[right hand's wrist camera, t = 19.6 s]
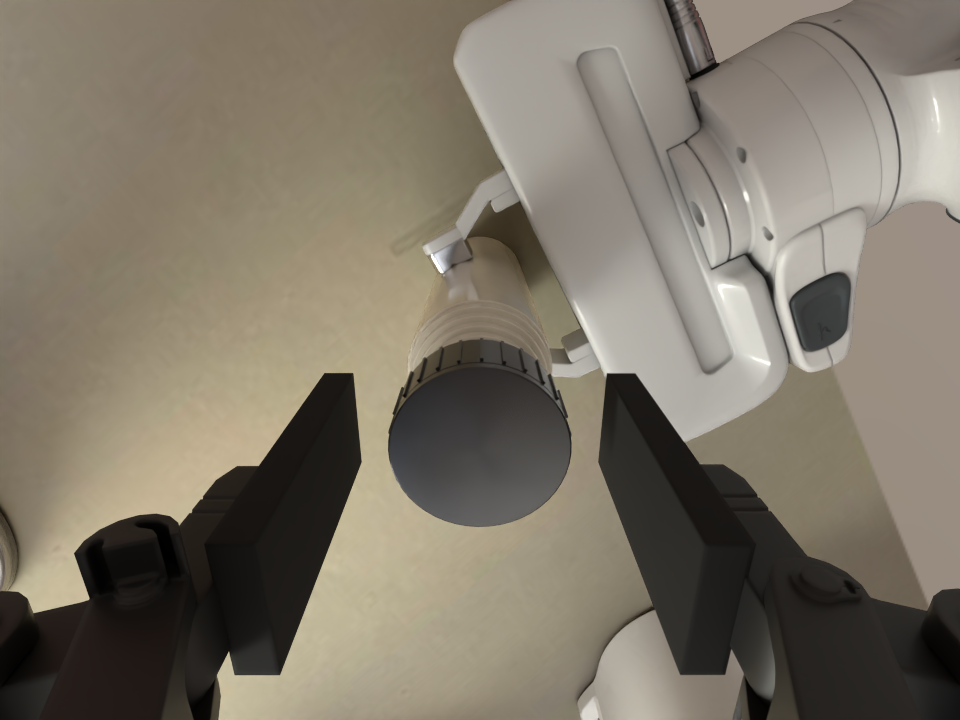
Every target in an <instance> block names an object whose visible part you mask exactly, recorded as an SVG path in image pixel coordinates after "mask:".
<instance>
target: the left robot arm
mask: <svg viewBox="0 0 960 720" xmlns="http://www.w3.org/2000/svg"><path fill="white" fill-rule="evenodd" d="M692 2H693V0H511V1H509V2H507V3H505V4H503V5H501V6H499V7H497V8H495V9H493V10H491V11H489V12H488V13H486V14H484V15H482V16H480V17H479V18H477V19H475V20H474V21H472V22H471V23H469V24H468V25H467V26H466V27H465V28H464V29H463V31H462V32H461V35H460V37H459V40H458V43H457V46H456V49H455V53H454V57H453V63H454V68H455V70H456V72H457V75H458V77H459V79H460V81H461V83H462V85H463V87H464V89H465V91H466V93H467V95H468V97H469V99H470V101H471V103H472V105H473V107H474V110H475V112H476V114H477V116H478V118H479V120H480V122H481V124H482V126H483V128H484V130H485V132H486V134H487V136H488V138H489V140H490V142H491V144H492V146H493V149H494V151H495V153H496V155H497V157H498V159H499V161H500V163H501V165H502V167H503V168H502V169H500V170H499V171H497V172H495V173H493V174H492V175H490V176H488V177H486V178H485V179H483V180H481V181H480V182H479V183H478V185H477V187H476V188H475V190H474V192H473V193H472V195H471V197H470V198H469V200H468V202H467V204H466V205H465V207H464V209H463V210H462V212H461V214H460V215H459V217H458V219H457V221H456V224H454V225H452V226H450V227H448V228H447V229H445V230H443V231H441V232H439V233H438V234H436V235H434V236H432V237H431V238H429V239H428V240H426V241H425V242H423V244H422V248H423V250H424V252H425V254H426V255H427V257H428V258H429V260H430V262H431V263H432V265H433V267H434V269H435V270H436V272H437V274H442V273H444V272H446V271H447V270H449V269H450V268H451V267H452V264H460V263H463V262H465V261H467V260H468V259H470V258H472V253H473V250H472V248H471V246H470V244H469V242H468V240H467V238H466V237H467V236H468V234H469V232H470V231H471V229H472V227H473V226H474V224H475V223H476V221H477V219H478V218H479V216H480V214H481V213H482V211H483V209H484V208H485V206H486V205H487V203H488V201H490V203H491V206H492V207H493V209H494V211H495V212H500V211H502V210H504V209H506V208H508V207H509V206H511V205H513V204H515V203H517V202H520V204H521V206H522V208H523V210H524V212H525V214H526V216H527V218H528V220H529V222H530V224H531V227H532V229H533V231H534V233H535V235H536V237H537V239H538V241H539V243H540V245H541V247H542V249H543V251H544V253H545V255H546V257H547V259H548V261H549V263H550V266H551V268H552V270H553V272H554V274H555V276H556V278H557V280H558V282H559V284H560V286H561V288H562V290H563V292H564V294H565V296H566V298H567V300H568V302H569V305H570V307H571V309H572V311H573V313H574V315H575V317H576V319H577V321H578V323H579V325H580V327H581V328H580V329H578V330H576V331H574V332H572V333H570V334H568V335H566V336H564V337H562V339H561V341H562V344H563V346H564V348H565V349H550V352H551V357H552V376H558V377H575V378H578V377H580V376H583V375H585V374H587V373H589V372H591V371H593V370H595V369H598V368H601V370H602V372H603V374H604V376H605V378H606V376H607V373H636V375H637V376H638V378H639V379H640V380H641V382H642V383H643V385H644V386H645V387H646V389H647V390H648V392H649V393H650V395H651V396H652V397H653V399H654V400H655V402H656V403H657V404H658V406H659V407H660V409H661V410H662V411H663V413H664V414H665V416H666V417H667V419H668V420H669V421H670V423H671V424H672V426H673V427H674V428H675V430H676V431H677V433H678V434H679V436H680V437H681V438H682V440H683V441H684V442H687V441H689V440H691V439H694V438H696V437H698V436H701V435H703V434H705V433H707V432H709V431H711V430H713V429H715V428H717V427H719V426H721V425H723V424H725V423H727V422H729V421H731V420H733V419H735V418H737V417H739V416H741V415H743V414H744V413H746V412H748V411H750V410H752V409H753V408H755V407H757V406H758V405H760V404H761V403H763V402H764V401H766V400H767V399H768V398H770V397H771V396H772V395H773V394H774V393H775V392H776V391H777V390H778V388H779V387H780V386H781V384H782V383H783V381H784V379H785V377H786V374H787V371H788V364H789V363H790V364H792V365H794V366H796V367H798V368H800V369H802V370H804V371H806V372H817V371H820V370H823V369H826V368H828V367H831V366H833V365H835V364H837V363H839V362H840V361H841V360H843V359H844V358H845V357H846V355H847V354H848V352H849V349H850V346H851V340H852V330H853V316H854V304H855V295H856V286H857V278H858V271H859V266H860V260H861V255H862V250H863V246H864V241H865V237H866V230H867V229H868V228H870V227H872V226H874V225H876V224H877V223H879V222H880V221H882V220H883V219H884V218H885V217H887V216H888V215H890V214H891V213H893V212H894V211H896V210H898V209H899V208H901V207H903V206H905V205H908V204H912V203H916V202H925V201H926V202H937V203H940V204H942V205H944V206H945V207H946V213H947V215H948V216H949V217H950V218H952V219H953V220H955V221H956V222H958V223H960V0H853V1H852V2H850V3H848V4H847V5H845V6H843V7H841V8H838V9H836V10H833V11H830V12H826V13H821V14H817V15H813V16H810V17H806V18H803V19H800V20H798V21H796V22H793V23H792V24H790V25H788V26H786V27H784V28H783V29H781V30H779V31H777V32H775V33H774V34H772V35H770V36H768V37H766V38H765V39H763V40H761V41H759V42H757V43H756V44H754V45H752V46H750V47H748V48H747V49H745V50H743V51H741V52H739V53H738V54H736V55H734V56H732V57H730V58H729V59H726V60H725V61H723V62H721V63H716V60H715V58H714V54H713V51H712V48H711V46H710V43H709V39H708V37H707V33H706V31H705V27H704V25H703V22H702V20H701V18H700V17H699V13H698V11H696V10H695V9H696V7H695V5H694V4H693V3H692ZM690 76H691V78H690ZM688 78H689V79H690V81H688V82H685V80H687V79H688ZM743 675H744V673H743V671H742V669H741V667H740V665H739V663H738V661H737V659H736V657H735V655H734V653H733V651H732V649H731V653H730V657H729V661H728V666H727V670H726V674H725V675H680V674H679V671H678V668H677V666H676V663H675V661H674V658H673V655H672V653H671V650H670V648H669V645H668V642H667V640H666V637H665V635H664V632H663V629H662V627H661V624H660V622H659V619H658V616H657V614H656V611H655V610H653V611H650V612H648V613H646V614H644V615H642V616H640V617H639V618H637V619H635V620H634V621H632V622H631V623H629V624H628V625H627V626H625V627H624V628H623V629H622V630H621V631H620V632H618V633H617V634H616V636H615V637H614V638H613V639H612V640H611V641H610V643H609V644H608V645H607V647H606V648H605V650H604V652H603V654H602V656H601V659H600V662H599V665H598V669H597V673H596V677H595V679H594V681H593V683H592V684H591V685H590V686H589V687H588V688H587V689H586V690H585V691H584V693H583V694H582V695H581V697H580V698H579V700H578V703H577V706H578V710H579V713H580V717H581V719H582V720H733V714H734V710H735V706H736V702H737V698H738V694H739V690H740V686H741V682H742V679H743Z"/></svg>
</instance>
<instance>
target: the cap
mask: <svg viewBox="0 0 960 720" xmlns="http://www.w3.org/2000/svg"><path fill="white" fill-rule="evenodd" d="M393 414H394V416H393V419H392V422H391V425H390V428H389V440H388V452H389V460H390V464H391V467H392V471H393V473H394V475H395V478H396V480H397V482H398V483H399V485H400V486H401V488H402V490H403V491H404V492H405V493H406V494H407V496H408V497H409V498H410V499H411V500H412V501H413V502H414V503H415V504H416V505H418V506H419V507H420V508H422V509H423V510H425V511H426V512H428V513H430V514H431V515H433V516H435V517H437V518H440V519H442V520H444V521H447V522H451V523H454V524H459V525H464V526H474V527H486V526H495V525H501V524H505V523H509V522H512V521H515V520H518V519H520V518H523V517H525V516H526V515H528V514H530V513H532V512H534V511H535V510H537V509H538V508H539V507H541V506H542V505H543V504H544V503H545V502H547V501H548V500H549V499H550V498H551V496H552V495H553V494H554V493H555V492H556V490H557V489H558V488H559V486H560V485H561V483H562V481H563V479H564V477H565V475H566V473H567V470H568V467H569V464H570V458H571V431H570V428H569V425H568V422H567V419H566V418H568V415H567V412H566V409H565V406H564V403H563V400H562V397H561V394H560V391H559V390H557V389H556V386H555V383H554V380H553V377H552V375H551V373H550V374H548V372H547V371H546V370H545V369H544V367H543V366H542V365H541V364H540V361H539V360H538V359H537V360H536V359H534V358H533V357H532V356H531V355H529V354H528V353H526V352H525V351H524V350H523V349H522V348H520V349H519V348H517V347H515V346H512V345H509V344H507V343H504V341H501V342H499V341H494V340H484V339H483V338H480V339H477V340H466V341H462V340H459V342H457V343H453V344H450V345H447V346H445V347H442V346H441V347H440V348H439V350H437V351H435V352H434V353H432V354H430V355H429V356H428V357H427V358H426V357H424V358H423V359H422V362H421V363H420V364H419V365H418V366H417V367H416V368H415V369H414V371H410V373H409V376H408V379H407V382H406V384H405V386H404V388H403V387H402V388H401V390H400V393H399V396H398V399H397V402H396V405H395V408H394V411H393Z"/></svg>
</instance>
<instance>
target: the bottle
mask: <svg viewBox="0 0 960 720" xmlns="http://www.w3.org/2000/svg"><path fill="white" fill-rule="evenodd" d="M467 240H468V242H469V244H470V246H471V248H472V250H473V253H472V258H470V259H468V260H467V261H465V262H463V263H460V264H452V267H451V268H450V269H449V270H447V271H446V272H444V273H442V274H437V275H436V278H435V281H434V283H433V286H432V289H431V292H430V295H429V297H428V300H427V303H426V306H425V308H424V311H423V314H422V317H421V320H420V322H419V325H418V328H417V331H416V334H415V336H414V339H413V342H412V345H411V348H410V351H409V356H408V366H407V371H408V376H409V373H410V371H414V369H415V368H416V367H417V366H418V365H419V364H420V363H421V362H422V359H423V358H424V357H426V358H427V357H428V356H429V355H430V354H432V353H434V352H435V351H437V350H439V348H440V347H441V346H442V347H445V346H447V345H450V344H453V343H457V342H459V340H462V341H466V340H477V339H480V338H483V339H484V340H494V341H499V342H501V341H504V343H507V344H509V345H512V346H515V347H517V348H519V349H520V348H522V349H523V350H524V351H525V352H526V353H528V354H529V355H531V356H532V357H533V358H534V359H536V360H537V359H538V360H539V361H540V364H541V365H542V366H543V367H544V369H545V370H546V371H547V372H548V374H550V373H551V375H552V357H551V352H550V348H549V345H548V342H547V339H546V337H545V334H544V331H543V328H542V325H541V323H540V320H539V317H538V314H537V311H536V308H535V306H534V303H533V300H532V297H531V294H530V292H529V289H528V286H527V283H526V280H525V278H524V275H523V272H522V269H521V266H520V264H519V261H518V259H517V257H516V256H515V254H514V253H513V252H512V251H511V249H509V248H508V247H507V246H506V245H505V244H503V243H502V242H500V241H498V240H495V239H493V238H489V237H471V238H467Z"/></svg>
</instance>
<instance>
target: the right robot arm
mask: <svg viewBox="0 0 960 720" xmlns="http://www.w3.org/2000/svg"><path fill="white" fill-rule="evenodd" d="M361 462H362V461H361V451H360V440H359V429H358V419H357V408H356V398H355V387H354V376H353V373H324V375H323V376H322V378H321V379H320V380H319V382H318V383H317V385H316V386H315V387H314V389H313V390H312V392H311V393H310V395H309V396H308V397H307V399H306V400H305V402H304V403H303V404H302V406H301V407H300V409H299V410H298V411H297V413H296V414H295V416H294V417H293V419H292V420H291V421H290V423H289V424H288V426H287V427H286V428H285V430H284V431H283V433H282V434H281V436H280V437H279V438H278V440H277V441H276V443H275V444H274V445H273V447H272V448H271V450H270V451H269V453H268V454H267V455H266V457H265V458H264V460H263V461H262V462H261V464H260V465H259V466H237V467H235V468H234V469H232V470H231V471H229V472H228V473H226V474H225V475H223V476H222V477H220V478H219V479H217V480H216V481H215V482H214V484H213V485H212V486H211V487H210V488H209V490H208V491H207V492H206V493H205V495H204V496H203V500H200V501H199V502H198V503H197V505H196V506H195V507H194V508H193V510H192V513H189V514H188V516H187V517H186V518H185V519H184V521H183V522H182V523H181V524H180V526H179V524H178V522H177V521H175V520H174V519H173V518H172V517H170V516H166V515H160V514H147V515H138V516H134V517H131V518H127V519H123V520H120V521H117V522H115V523H113V524H111V525H109V526H107V527H105V528H102V529H100V530H99V531H97V532H96V533H95V534H93V535H92V536H90V537H89V538H88V539H86V540H85V541H84V542H83V543H82V544H81V545H80V547H79V548H78V549H77V550H76V552H75V553H74V555H75V558H76V560H77V563H78V566H79V569H80V572H81V575H82V578H83V580H84V583H85V586H86V589H87V592H88V595H89V598H90V599H89V600H88V601H85V602H81V603H77V604H73V605H68V606H64V607H59V608H55V609H51V610H46V611H42V612H38V613H33V611H32V609H31V606H30V604H29V601H28V599H27V598H26V597H25V596H23V595H22V594H20V593H19V592H11V591H8V589H9V588H10V586H11V585H12V583H13V581H14V578H15V575H16V570H17V561H18V558H17V549H16V544H15V540H14V537H13V534H12V532H11V530H10V527H9V525H8V523H7V522H6V520H5V518H4V516H3V515H2V513H1V512H0V720H218V717H219V708H220V698H221V695H220V688H219V682H218V679H217V674H218V672H219V670H220V668H221V666H222V664H223V662H224V660H225V658H226V656H227V654H228V652H229V653H230V657H231V661H232V665H233V670H234V674H235V675H280V674H281V671H282V668H283V666H284V663H285V661H286V658H287V655H288V653H289V650H290V648H291V645H292V642H293V640H294V637H295V635H296V632H297V629H298V627H299V624H300V622H301V619H302V616H303V614H304V611H305V608H306V606H307V603H308V601H309V598H310V595H311V593H312V590H313V588H314V585H315V582H316V580H317V577H318V575H319V572H320V569H321V567H322V564H323V562H324V559H325V556H326V554H327V551H328V548H329V546H330V543H331V541H332V538H333V535H334V533H335V530H336V528H337V525H338V522H339V520H340V517H341V515H342V512H343V509H344V507H345V504H346V502H347V499H348V496H349V494H350V491H351V488H352V486H353V483H354V481H355V478H356V475H357V473H358V470H359V468H360V465H361ZM598 462H599V465H600V468H601V470H602V473H603V475H604V478H605V481H606V483H607V486H608V488H609V491H610V494H611V496H612V499H613V502H614V504H615V507H616V509H617V512H618V515H619V517H620V520H621V522H622V525H623V528H624V530H625V533H626V535H627V538H628V541H629V543H630V546H631V548H632V551H633V554H634V556H635V559H636V562H637V564H638V567H639V569H640V572H641V575H642V577H643V580H644V582H645V585H646V588H647V590H648V593H649V595H650V598H651V601H652V603H653V606H654V608H655V611H656V614H657V616H658V619H659V622H660V624H661V627H662V629H663V632H664V635H665V637H666V640H667V642H668V645H669V648H670V650H671V653H672V655H673V658H674V661H675V663H676V666H677V668H678V671H679V674H680V675H725V674H726V670H727V666H728V661H729V657H730V653H731V649H732V651H733V653H734V655H735V657H736V659H737V661H738V663H739V665H740V667H741V669H742V671H743V673H744V675H743V679H742V682H741V686H740V690H739V694H738V698H737V702H736V706H735V710H734V714H733V720H960V589H947V590H942V591H940V592H939V593H937V594H936V595H934V596H933V599H932V601H931V604H930V606H929V609H928V611H924V610H920V609H915V608H911V607H906V606H902V605H898V604H893V603H889V602H884V601H880V600H877V599H873V598H870V597H869V595H868V594H867V592H866V591H865V589H864V588H863V586H862V585H861V584H860V583H859V582H857V581H856V580H855V579H854V578H853V577H851V576H850V575H849V574H848V573H846V572H845V571H843V570H841V569H839V568H837V567H835V566H833V565H831V564H830V563H827V562H824V561H821V560H818V559H814V558H811V557H808V556H807V555H806V554H805V553H804V551H803V550H802V549H801V548H800V547H799V545H798V544H797V543H796V542H795V540H794V539H793V538H792V537H791V535H790V534H789V533H788V532H787V531H786V529H785V528H784V527H783V526H782V524H781V523H780V522H779V521H778V519H777V518H776V517H775V516H774V515H773V513H772V512H771V511H768V507H767V506H766V505H765V503H764V502H763V501H762V500H761V499H760V498H758V497H757V494H756V492H755V491H754V490H753V489H752V487H751V486H750V485H749V484H748V483H747V481H746V480H745V479H744V478H743V477H741V476H740V475H738V474H737V473H735V472H734V471H732V470H731V469H729V468H728V467H726V466H725V465H700V464H699V462H698V461H697V460H696V458H695V457H694V455H693V454H692V453H691V451H690V450H689V448H688V447H687V445H686V444H685V443H684V441H683V440H682V438H681V437H680V436H679V434H678V433H677V431H676V430H675V428H674V427H673V426H672V424H671V423H670V421H669V420H668V419H667V417H666V416H665V414H664V413H663V411H662V410H661V409H660V407H659V406H658V404H657V403H656V402H655V400H654V399H653V397H652V396H651V395H650V393H649V392H648V390H647V389H646V387H645V386H644V385H643V383H642V382H641V380H640V379H639V378H638V376H637V375H636V373H607V376H606V387H605V398H604V408H603V419H602V429H601V440H600V451H599V461H598Z"/></svg>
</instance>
